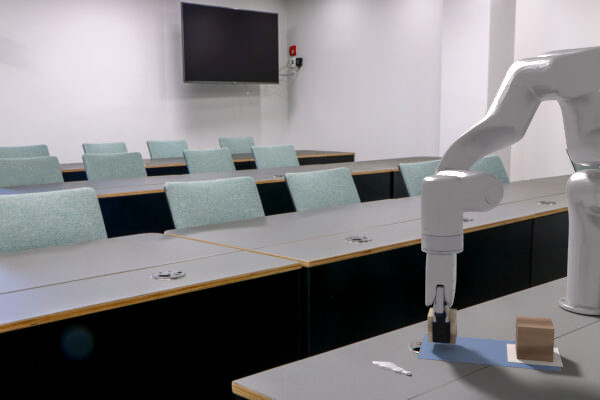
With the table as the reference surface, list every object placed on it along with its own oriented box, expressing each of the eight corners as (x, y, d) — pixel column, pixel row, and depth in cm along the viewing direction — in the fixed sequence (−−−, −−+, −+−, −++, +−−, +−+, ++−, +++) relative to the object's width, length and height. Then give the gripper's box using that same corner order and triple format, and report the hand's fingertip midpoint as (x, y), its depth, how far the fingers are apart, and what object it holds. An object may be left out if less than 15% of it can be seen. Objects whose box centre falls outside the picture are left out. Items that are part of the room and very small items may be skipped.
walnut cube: (553, 362, 109) (554, 329, 108) (516, 359, 111) (517, 326, 110) (549, 349, 115) (550, 318, 114) (515, 347, 117) (516, 316, 116)
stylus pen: (416, 378, 106) (415, 368, 106) (406, 383, 104) (405, 373, 104) (352, 359, 117) (351, 349, 117) (342, 363, 116) (341, 353, 115)
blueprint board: (556, 349, 118) (556, 344, 118) (564, 377, 106) (564, 371, 105) (424, 338, 125) (424, 333, 125) (417, 363, 113) (417, 357, 113)
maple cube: (456, 334, 119) (456, 309, 119) (455, 344, 115) (455, 317, 114) (430, 332, 121) (430, 307, 120) (427, 342, 116) (427, 316, 115)
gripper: (426, 232, 124) (426, 320, 127) (416, 252, 108) (417, 352, 111) (465, 233, 122) (465, 323, 125) (460, 253, 106) (461, 355, 109)
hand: (442, 336), depth 118 cm, fingers closed on maple cube, 4 cm apart
